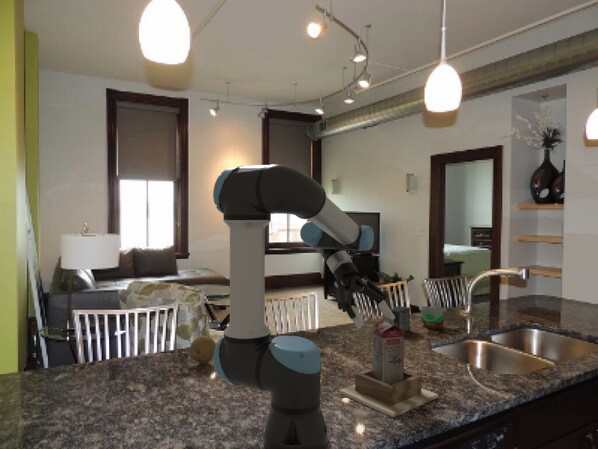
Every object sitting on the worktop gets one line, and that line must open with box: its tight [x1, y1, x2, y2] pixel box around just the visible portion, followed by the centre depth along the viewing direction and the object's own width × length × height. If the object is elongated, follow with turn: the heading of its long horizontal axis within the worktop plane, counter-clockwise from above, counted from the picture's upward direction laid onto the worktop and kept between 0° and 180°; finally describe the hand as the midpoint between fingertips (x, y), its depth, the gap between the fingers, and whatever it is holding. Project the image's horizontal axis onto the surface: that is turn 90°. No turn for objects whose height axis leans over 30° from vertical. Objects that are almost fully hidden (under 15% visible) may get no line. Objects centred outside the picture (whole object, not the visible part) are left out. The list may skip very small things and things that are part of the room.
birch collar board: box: [338, 367, 439, 418], centre depth 130 cm, size 20×20×6 cm
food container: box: [418, 304, 447, 330], centre depth 205 cm, size 12×6×10 cm, turn 73°
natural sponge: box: [188, 335, 217, 365], centre depth 156 cm, size 9×9×10 cm
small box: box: [390, 305, 411, 334], centre depth 199 cm, size 11×6×10 cm, turn 141°
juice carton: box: [371, 314, 405, 385], centre depth 130 cm, size 7×7×22 cm
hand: (377, 323), depth 134 cm, fingers open, 13 cm apart
